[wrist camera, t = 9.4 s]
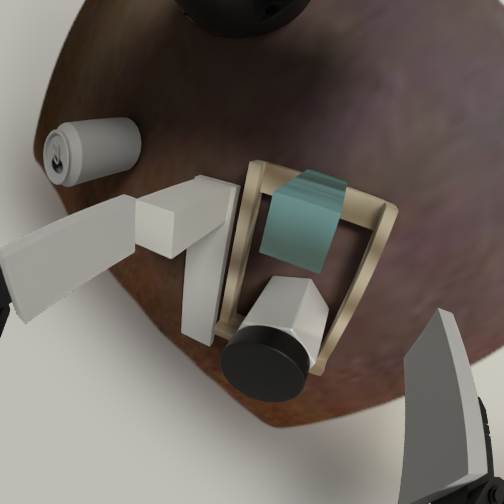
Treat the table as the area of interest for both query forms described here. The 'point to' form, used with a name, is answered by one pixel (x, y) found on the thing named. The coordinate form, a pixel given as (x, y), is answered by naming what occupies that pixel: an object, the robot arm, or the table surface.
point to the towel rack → (303, 236)
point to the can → (91, 150)
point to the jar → (277, 341)
